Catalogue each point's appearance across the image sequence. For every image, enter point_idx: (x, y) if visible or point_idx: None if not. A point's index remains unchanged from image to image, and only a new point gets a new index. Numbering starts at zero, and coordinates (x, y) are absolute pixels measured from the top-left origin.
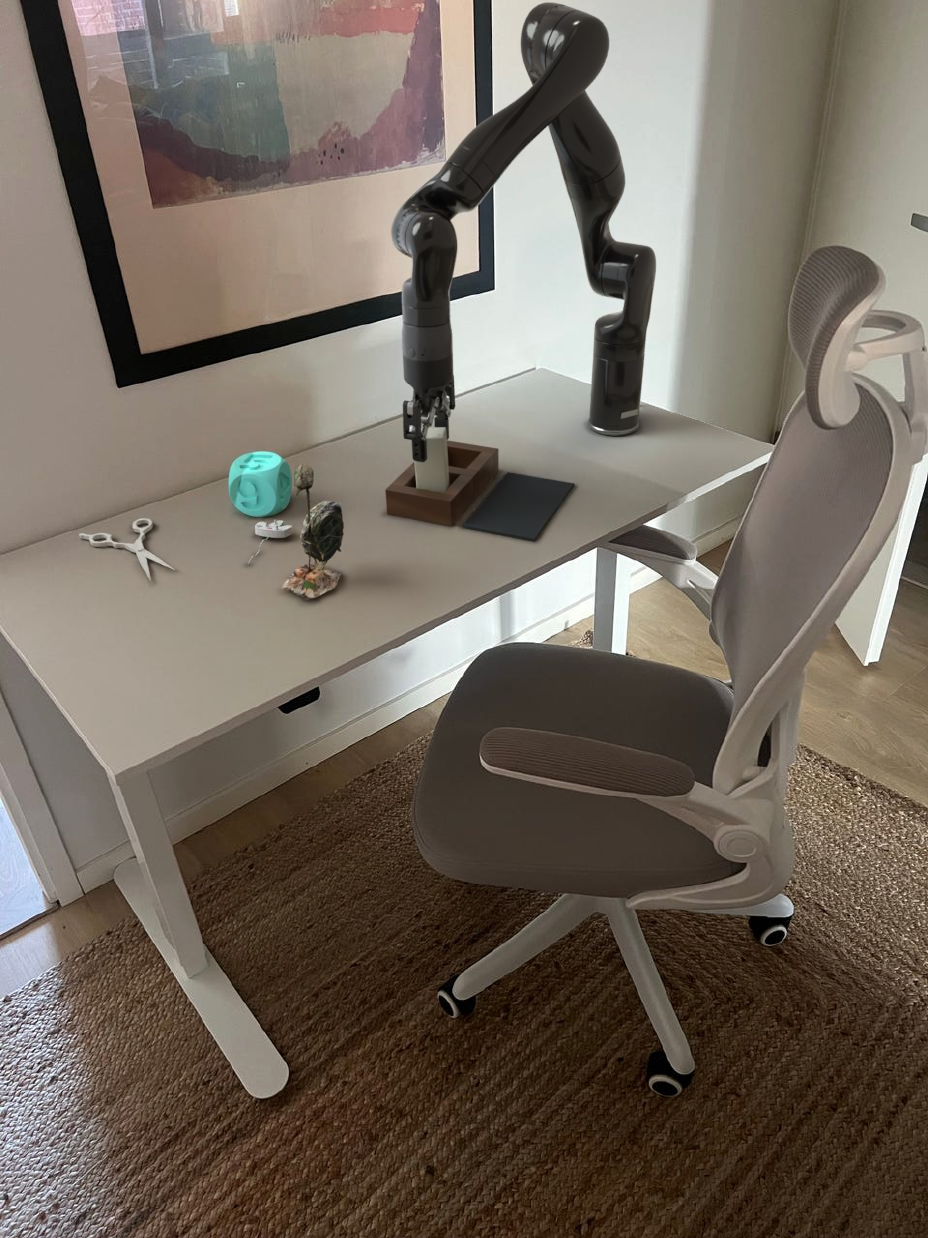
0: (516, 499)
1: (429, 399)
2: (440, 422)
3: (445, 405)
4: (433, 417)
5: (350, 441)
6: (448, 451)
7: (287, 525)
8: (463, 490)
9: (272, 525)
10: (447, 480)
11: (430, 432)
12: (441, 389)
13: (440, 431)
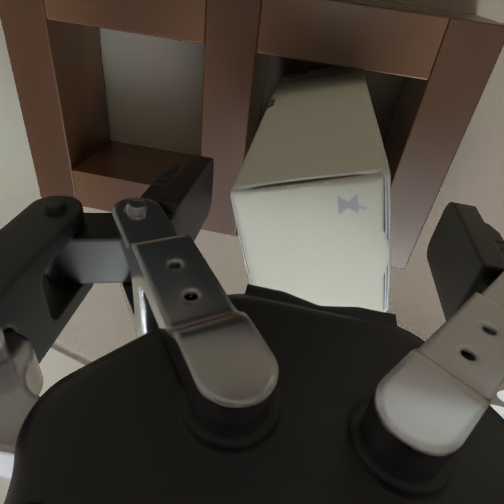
0: None
1: (487, 495)
2: (186, 228)
3: (213, 274)
4: (462, 319)
5: (88, 347)
6: (79, 149)
7: (498, 395)
8: (370, 4)
9: (500, 415)
10: (336, 90)
11: (322, 253)
12: (165, 412)
13: (297, 207)
